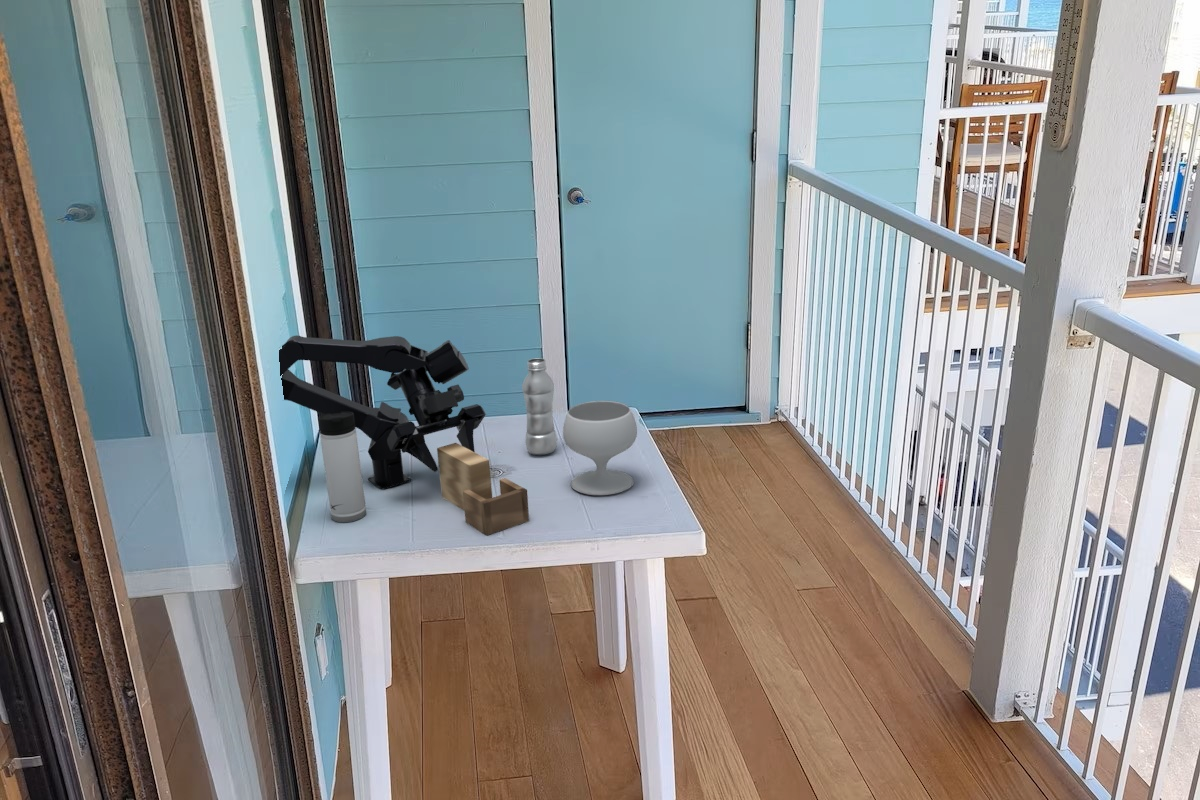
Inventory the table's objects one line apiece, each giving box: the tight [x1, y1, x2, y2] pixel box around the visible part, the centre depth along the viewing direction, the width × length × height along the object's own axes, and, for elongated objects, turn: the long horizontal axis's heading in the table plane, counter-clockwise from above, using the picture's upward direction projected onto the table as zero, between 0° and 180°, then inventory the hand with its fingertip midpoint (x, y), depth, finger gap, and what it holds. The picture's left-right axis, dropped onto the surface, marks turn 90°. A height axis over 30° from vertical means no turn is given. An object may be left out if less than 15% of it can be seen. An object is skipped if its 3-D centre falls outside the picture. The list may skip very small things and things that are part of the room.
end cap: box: [463, 477, 530, 536], centre depth 177 cm, size 7×9×6 cm
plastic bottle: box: [522, 357, 558, 456], centre depth 206 cm, size 6×7×20 cm
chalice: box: [562, 400, 638, 496], centre depth 189 cm, size 14×14×15 cm
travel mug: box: [317, 412, 367, 523], centre depth 179 cm, size 6×7×20 cm
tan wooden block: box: [436, 442, 493, 512], centre depth 184 cm, size 12×4×10 cm, turn 37°
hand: (455, 465), depth 186 cm, fingers open, 8 cm apart
